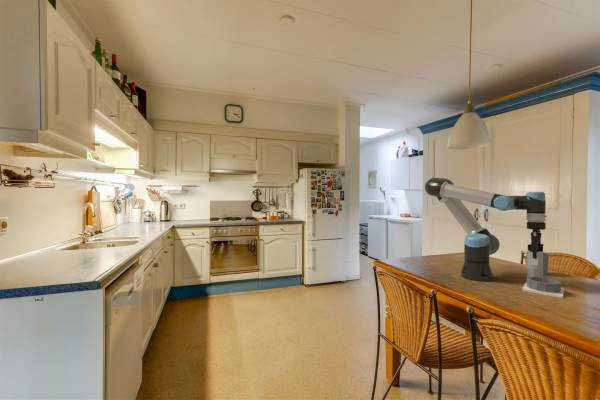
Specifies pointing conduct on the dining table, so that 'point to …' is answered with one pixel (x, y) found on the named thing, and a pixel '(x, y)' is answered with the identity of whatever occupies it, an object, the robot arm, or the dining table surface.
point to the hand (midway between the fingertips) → (536, 262)
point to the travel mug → (535, 269)
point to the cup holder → (544, 286)
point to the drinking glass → (544, 262)
